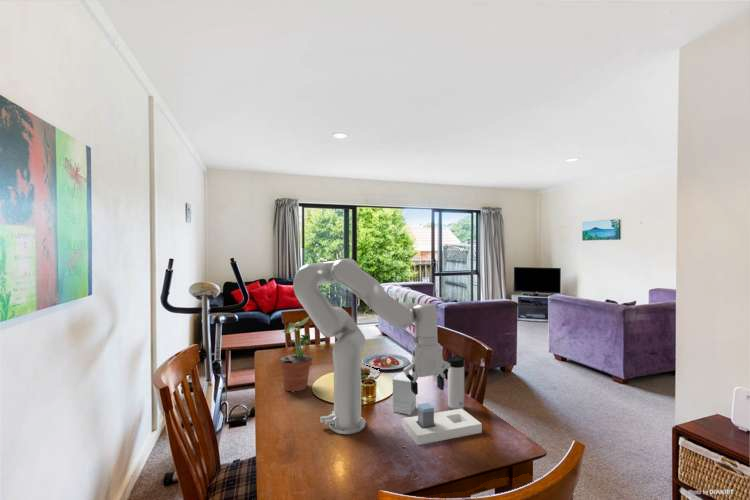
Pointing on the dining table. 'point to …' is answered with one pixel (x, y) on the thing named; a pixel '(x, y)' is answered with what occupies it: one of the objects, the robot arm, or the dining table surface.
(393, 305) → the robot arm
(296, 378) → the potted plant
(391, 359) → the ceramic plate
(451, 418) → the socket panel
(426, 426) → the plug
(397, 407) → the supplement box
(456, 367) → the travel mug
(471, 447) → the dining table surface
